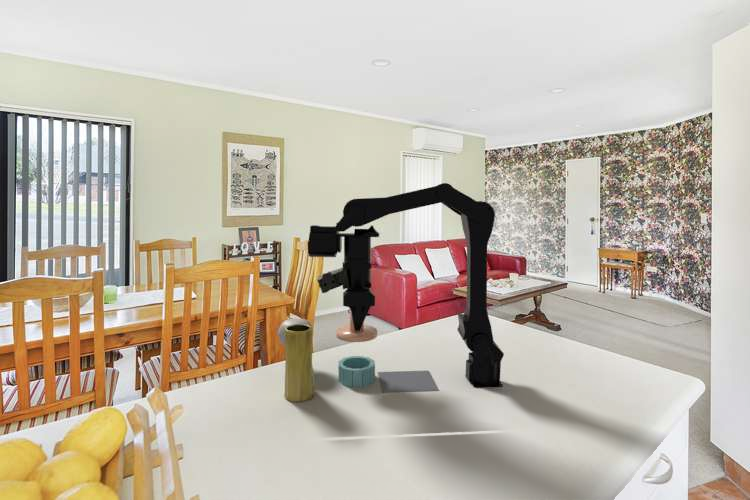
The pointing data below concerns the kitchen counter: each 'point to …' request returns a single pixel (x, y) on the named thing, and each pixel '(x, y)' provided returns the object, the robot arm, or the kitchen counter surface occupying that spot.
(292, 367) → the vase
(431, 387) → the mat
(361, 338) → the lid
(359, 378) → the bowl
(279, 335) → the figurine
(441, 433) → the kitchen counter surface
